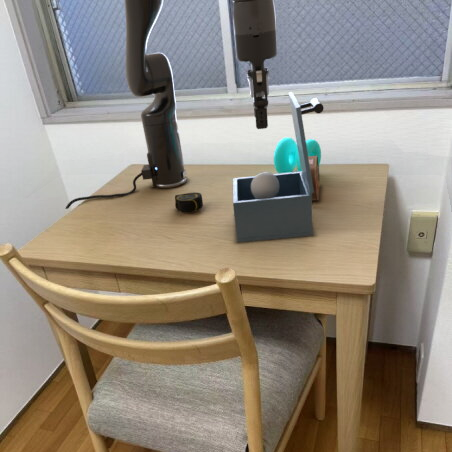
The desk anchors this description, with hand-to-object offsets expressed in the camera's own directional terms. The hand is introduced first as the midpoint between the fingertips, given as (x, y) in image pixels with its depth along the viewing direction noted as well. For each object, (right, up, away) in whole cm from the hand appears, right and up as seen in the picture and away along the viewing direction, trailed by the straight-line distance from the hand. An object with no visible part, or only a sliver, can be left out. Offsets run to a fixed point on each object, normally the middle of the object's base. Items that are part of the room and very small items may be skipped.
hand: (261, 122), depth 94 cm
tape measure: (-16, -13, +25) cm, 32 cm away
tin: (+15, -9, +24) cm, 30 cm away
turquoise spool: (+13, -1, +36) cm, 38 cm away
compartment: (+3, -18, +12) cm, 22 cm away
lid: (+8, -3, +2) cm, 9 cm away
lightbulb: (+2, -18, +12) cm, 21 cm away
